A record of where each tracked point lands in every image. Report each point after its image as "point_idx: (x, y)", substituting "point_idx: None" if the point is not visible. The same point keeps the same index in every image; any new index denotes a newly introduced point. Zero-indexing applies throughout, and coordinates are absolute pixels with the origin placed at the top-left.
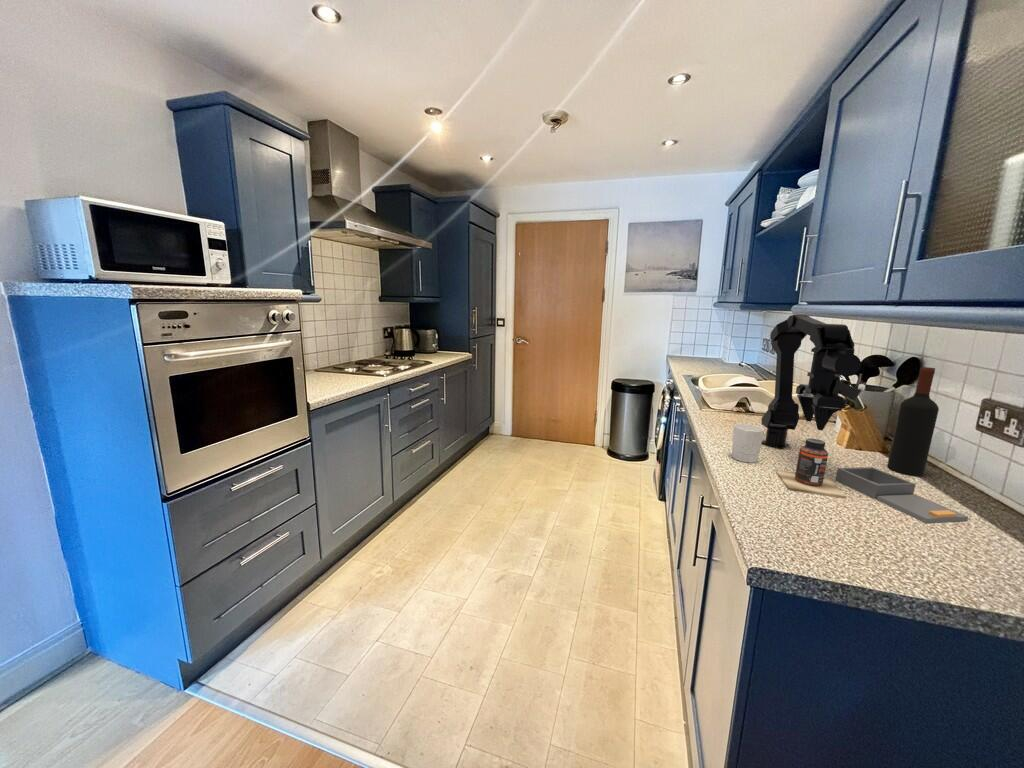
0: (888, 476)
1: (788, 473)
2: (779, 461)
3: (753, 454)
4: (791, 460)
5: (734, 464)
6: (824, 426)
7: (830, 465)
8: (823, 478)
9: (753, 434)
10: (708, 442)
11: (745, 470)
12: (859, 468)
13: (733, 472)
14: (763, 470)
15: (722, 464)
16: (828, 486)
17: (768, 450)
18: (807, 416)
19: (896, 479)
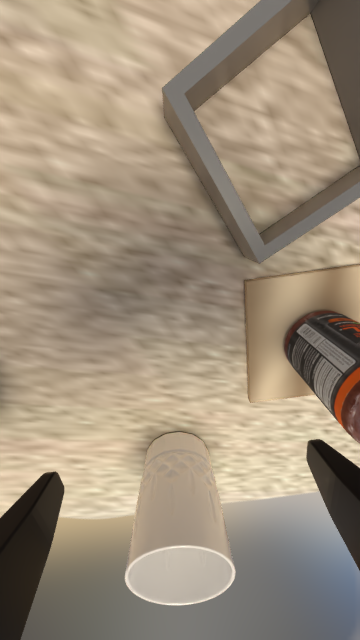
0: (252, 39)
1: (265, 378)
2: (143, 384)
3: (207, 463)
4: (109, 353)
5: (236, 469)
6: (355, 467)
7: (76, 239)
8: (350, 318)
9: (230, 549)
10: (88, 515)
11: (268, 452)
12: (222, 169)
13: (294, 470)
14: (249, 421)
15: (249, 487)
16: (334, 294)
17: (46, 403)
18: (45, 534)
19: (288, 7)
